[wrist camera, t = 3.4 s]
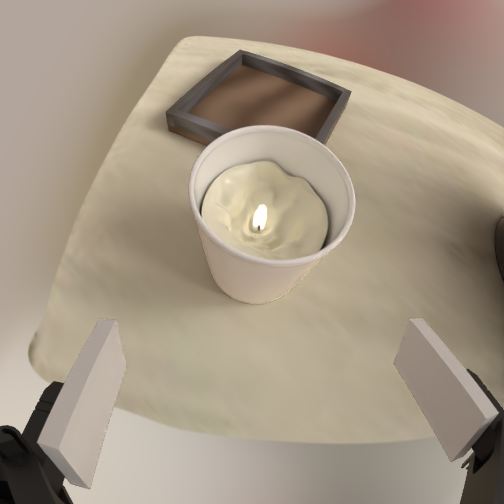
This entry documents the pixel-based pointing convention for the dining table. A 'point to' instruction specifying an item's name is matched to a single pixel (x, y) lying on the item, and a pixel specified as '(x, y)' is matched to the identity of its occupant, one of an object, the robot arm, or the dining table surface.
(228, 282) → the candle holder
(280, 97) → the socket base
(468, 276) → the dining table surface
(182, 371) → the dining table surface
